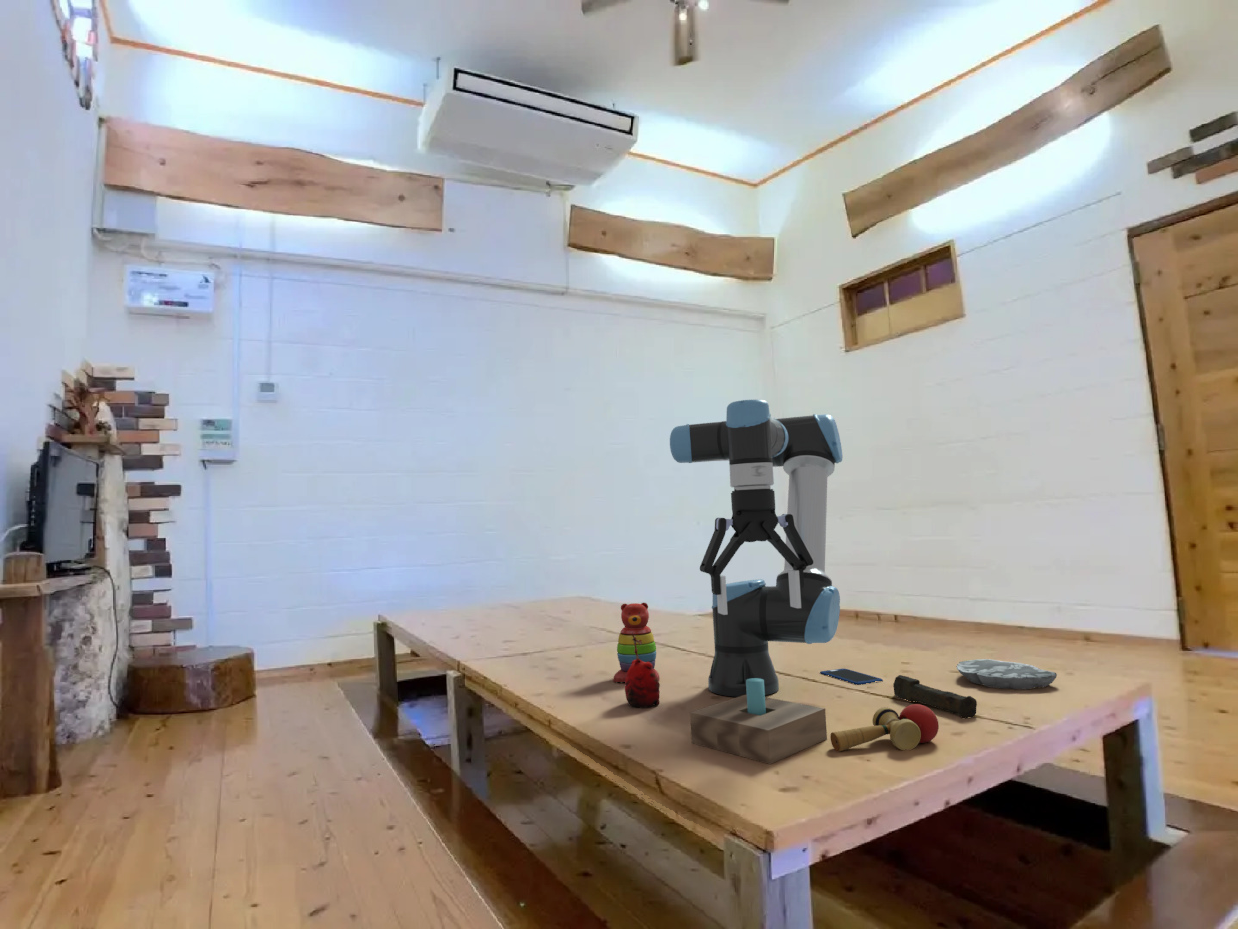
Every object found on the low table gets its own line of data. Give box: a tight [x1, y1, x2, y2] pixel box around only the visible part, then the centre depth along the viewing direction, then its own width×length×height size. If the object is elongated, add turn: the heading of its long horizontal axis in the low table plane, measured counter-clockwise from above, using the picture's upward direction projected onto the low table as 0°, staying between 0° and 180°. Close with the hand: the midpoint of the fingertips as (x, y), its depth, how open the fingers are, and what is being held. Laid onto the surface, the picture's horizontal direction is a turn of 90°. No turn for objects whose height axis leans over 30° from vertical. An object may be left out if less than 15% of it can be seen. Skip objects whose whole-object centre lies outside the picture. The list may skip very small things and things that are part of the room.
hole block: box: [689, 694, 828, 765], centre depth 119 cm, size 16×16×5 cm
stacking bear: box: [612, 602, 661, 683], centre depth 170 cm, size 11×10×18 cm
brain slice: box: [955, 658, 1058, 690], centre depth 153 cm, size 20×17×3 cm
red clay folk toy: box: [624, 633, 661, 708], centre depth 146 cm, size 8×7×15 cm
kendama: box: [829, 703, 940, 753], centre depth 115 cm, size 8×6×18 cm
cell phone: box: [819, 668, 884, 686], centre depth 163 cm, size 7×14×1 cm, turn 20°
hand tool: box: [892, 674, 978, 719], centre depth 137 cm, size 19×4×5 cm, turn 19°
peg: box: [746, 678, 766, 716], centre depth 120 cm, size 3×3×10 cm
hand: (759, 610), depth 124 cm, fingers open, 13 cm apart
